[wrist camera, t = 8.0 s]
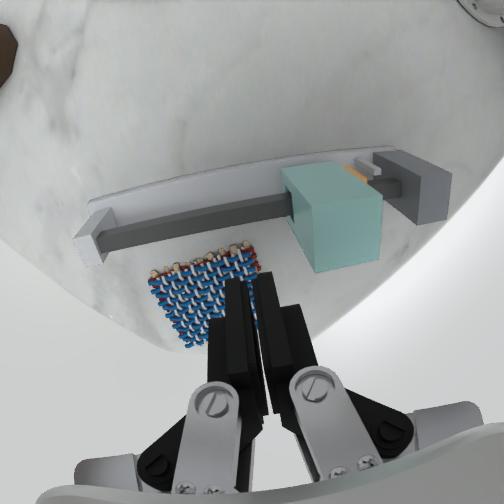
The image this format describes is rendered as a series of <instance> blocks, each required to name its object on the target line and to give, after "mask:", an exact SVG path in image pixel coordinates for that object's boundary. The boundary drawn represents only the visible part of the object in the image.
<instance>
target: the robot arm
mask: <svg viewBox="0 0 504 504" xmlns="http://www.w3.org/2000/svg"><path fill="white" fill-rule="evenodd" d="M458 1H459V2H460V3H461V4H462V5H463V6H464V8H465V9H466V10H467V11H468V12H469V13H470V14H471V15H472V16H473V17H475V18H476V19H477V20H479V21H480V22H482V23H483V24H485V25H487V26H491V27H502V26H504V0H458ZM251 281H252V288H253V296H254V303H255V310H256V317H257V324H258V332H259V339H260V346H261V353H262V360H263V366H264V372H265V377H266V381H267V386H268V390H269V395H270V399H271V404H272V409H273V413H274V414H277V413H280V417H281V422H282V426H283V427H284V428H286V429H288V430H289V431H291V432H293V433H294V436H295V438H296V441H297V444H298V446H299V449H300V452H301V454H302V457H303V460H304V462H305V465H306V467H307V470H308V473H309V475H310V477H311V480H312V483H310V484H305V485H299V486H293V487H288V488H282V489H274V490H266V491H257V492H252V479H253V466H254V452H255V437H256V436H257V435H258V434H259V433H260V432H261V431H262V429H263V427H262V424H264V421H263V416H265V415H269V414H268V406H267V399H266V391H265V385H264V377H263V369H262V363H261V355H260V348H259V340H258V334H257V329H256V324H255V319H254V314H253V309H252V304H251V299H250V294H249V290H248V285H247V280H243V281H241V279H240V277H236V278H230V279H225V281H224V283H225V317H218V318H211V319H209V324H208V374H207V376H208V378H207V379H208V380H207V383H206V384H203V385H202V386H200V387H199V388H197V389H196V390H195V391H194V393H193V394H192V396H191V398H190V401H189V405H188V410H187V414H186V415H185V416H184V417H183V418H182V419H181V420H179V421H178V422H177V423H176V424H175V425H174V426H173V427H172V428H170V429H169V430H168V431H167V432H166V433H165V434H164V435H163V436H161V437H160V438H159V439H158V440H157V441H155V442H154V443H153V444H152V445H151V446H149V447H148V448H147V449H146V450H145V451H144V452H143V453H142V454H139V455H134V454H125V455H119V456H111V457H103V458H95V459H86V460H83V461H81V462H80V463H79V464H78V465H77V466H76V468H75V472H74V481H75V485H65V486H59V487H55V488H52V489H50V490H47V491H46V492H44V493H43V494H41V496H40V497H39V498H38V499H37V501H36V503H35V504H504V423H502V422H501V423H491V424H486V425H484V423H483V419H482V415H481V412H480V409H479V408H478V407H477V406H476V405H475V404H474V403H472V402H469V401H463V402H458V403H454V404H448V405H443V406H438V407H433V408H427V409H420V410H415V411H414V412H413V413H408V414H403V413H402V412H399V411H397V410H395V409H392V408H389V407H387V406H385V405H382V404H380V403H377V402H375V401H373V400H371V399H368V398H366V397H364V396H361V395H359V394H357V393H355V392H352V391H350V390H348V389H346V388H344V387H343V385H342V383H341V381H340V379H339V377H338V376H337V375H336V374H335V372H333V371H332V370H330V369H329V368H326V367H323V366H318V363H317V360H316V357H315V353H314V350H313V346H312V343H311V339H310V336H309V333H308V329H307V326H306V323H305V320H304V316H303V313H302V310H301V307H300V305H299V304H296V305H290V306H285V307H280V305H279V300H278V296H277V292H276V287H275V283H274V279H273V275H272V271H271V272H265V273H260V274H257V278H255V279H251Z"/></svg>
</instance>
